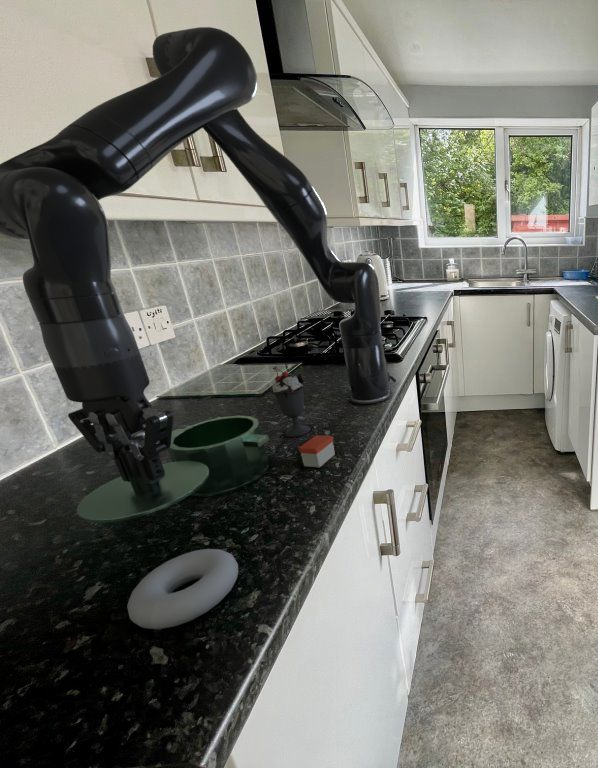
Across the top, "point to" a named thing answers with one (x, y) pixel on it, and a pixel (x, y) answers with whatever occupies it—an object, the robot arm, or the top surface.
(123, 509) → the lid
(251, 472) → the pot
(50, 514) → the top surface
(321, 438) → the block
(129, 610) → the donut
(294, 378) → the sundae
